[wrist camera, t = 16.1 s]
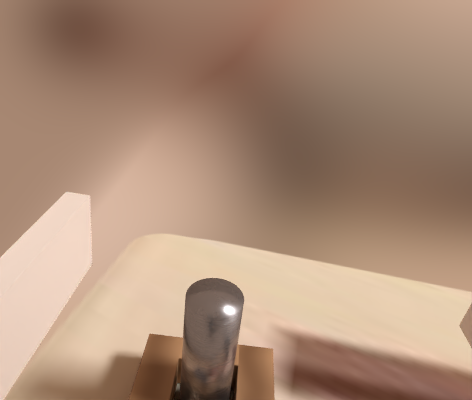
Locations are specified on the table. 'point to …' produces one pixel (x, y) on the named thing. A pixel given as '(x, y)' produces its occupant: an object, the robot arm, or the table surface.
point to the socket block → (169, 371)
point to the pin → (210, 339)
